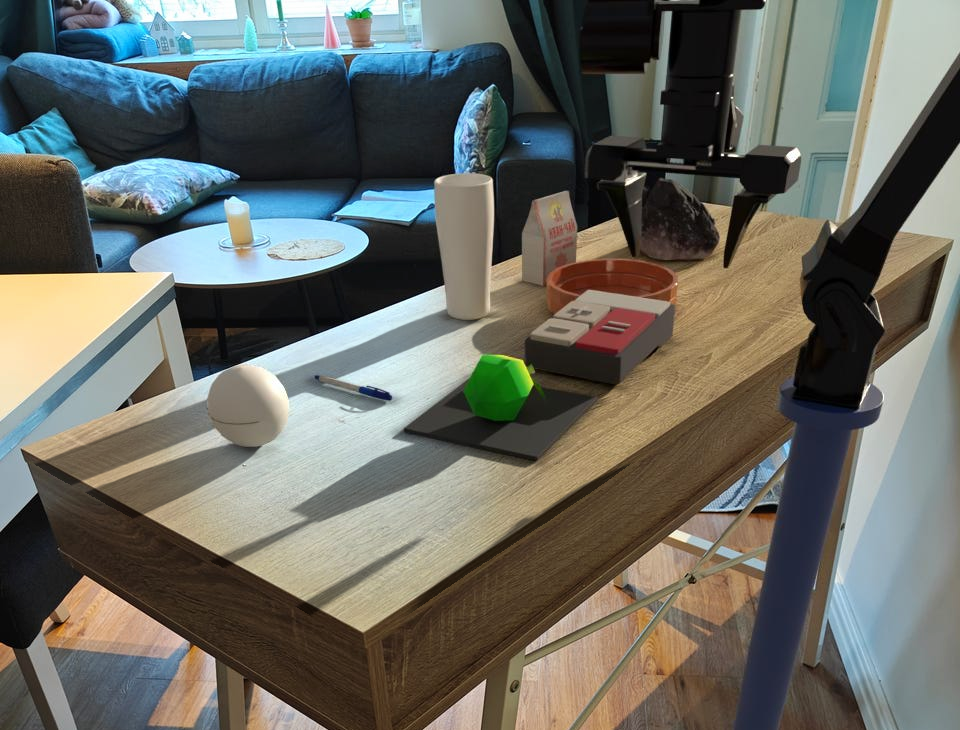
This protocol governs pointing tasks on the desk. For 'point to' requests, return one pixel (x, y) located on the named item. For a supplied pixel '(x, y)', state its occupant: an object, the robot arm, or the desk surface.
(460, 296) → the drinking glass
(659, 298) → the bowl
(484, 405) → the green polyhedron
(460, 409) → the mat
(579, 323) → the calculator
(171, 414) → the desk surface
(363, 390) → the ballpoint pen
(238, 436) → the seamed sphere
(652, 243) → the crystal cluster
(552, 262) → the white gabled box
